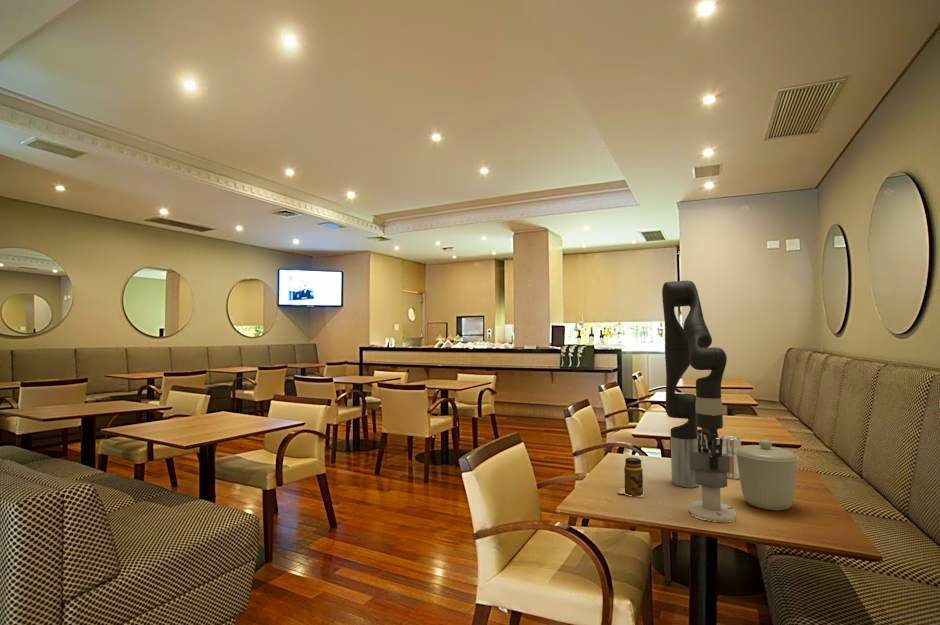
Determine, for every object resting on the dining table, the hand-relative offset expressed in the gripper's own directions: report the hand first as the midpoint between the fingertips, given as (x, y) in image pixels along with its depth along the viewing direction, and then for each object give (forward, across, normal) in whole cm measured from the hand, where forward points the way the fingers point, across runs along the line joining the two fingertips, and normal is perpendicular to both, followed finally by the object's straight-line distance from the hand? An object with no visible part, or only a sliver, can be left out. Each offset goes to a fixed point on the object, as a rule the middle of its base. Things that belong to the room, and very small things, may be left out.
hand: (710, 466), depth 148 cm
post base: (+15, 0, 0) cm, 15 cm away
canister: (+15, -10, +21) cm, 28 cm away
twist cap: (+5, 0, 0) cm, 5 cm away
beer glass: (+15, -41, +23) cm, 49 cm away
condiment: (+15, -18, -20) cm, 31 cm away
